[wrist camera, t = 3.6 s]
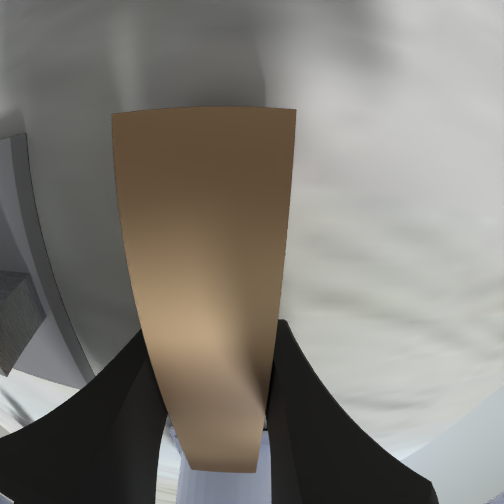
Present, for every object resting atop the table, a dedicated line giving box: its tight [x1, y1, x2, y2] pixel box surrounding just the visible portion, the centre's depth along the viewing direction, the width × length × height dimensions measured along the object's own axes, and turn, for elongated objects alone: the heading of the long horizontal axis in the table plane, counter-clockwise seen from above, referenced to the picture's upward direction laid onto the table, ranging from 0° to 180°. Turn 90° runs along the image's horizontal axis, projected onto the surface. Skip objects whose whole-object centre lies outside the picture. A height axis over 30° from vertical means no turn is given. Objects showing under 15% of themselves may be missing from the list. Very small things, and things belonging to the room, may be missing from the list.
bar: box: [112, 106, 296, 473], centre depth 9 cm, size 14×3×4 cm, turn 178°
